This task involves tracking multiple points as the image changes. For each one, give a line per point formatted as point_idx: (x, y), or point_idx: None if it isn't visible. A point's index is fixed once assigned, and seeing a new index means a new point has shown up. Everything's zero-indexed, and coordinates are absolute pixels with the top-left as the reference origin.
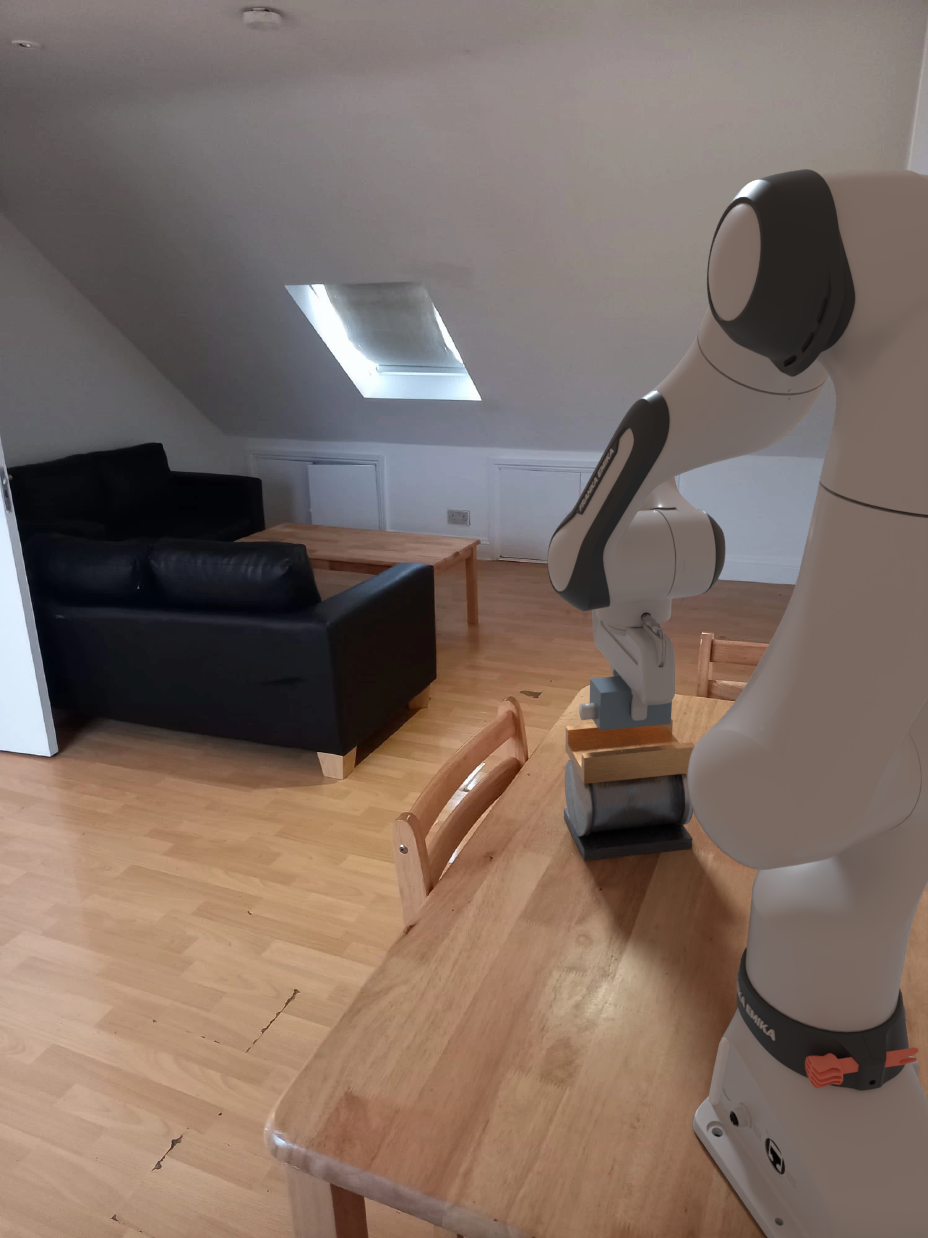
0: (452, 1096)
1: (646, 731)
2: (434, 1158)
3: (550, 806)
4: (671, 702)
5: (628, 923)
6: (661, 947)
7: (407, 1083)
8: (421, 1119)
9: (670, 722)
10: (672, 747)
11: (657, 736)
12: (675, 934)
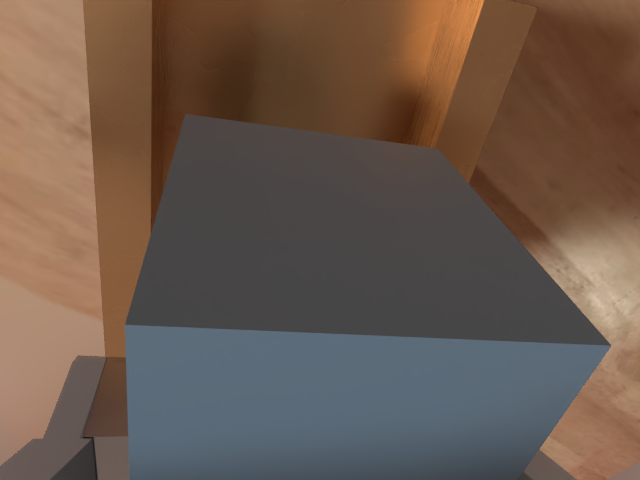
0: (599, 437)
1: (159, 101)
2: (635, 450)
3: (94, 221)
4: (508, 234)
5: (518, 223)
6: (593, 200)
7: (563, 460)
8: (600, 455)
9: (439, 153)
10: (472, 135)
11: (175, 31)
12: (587, 165)
